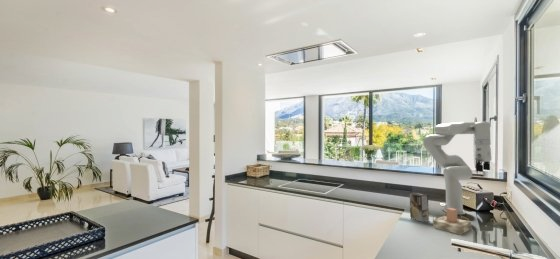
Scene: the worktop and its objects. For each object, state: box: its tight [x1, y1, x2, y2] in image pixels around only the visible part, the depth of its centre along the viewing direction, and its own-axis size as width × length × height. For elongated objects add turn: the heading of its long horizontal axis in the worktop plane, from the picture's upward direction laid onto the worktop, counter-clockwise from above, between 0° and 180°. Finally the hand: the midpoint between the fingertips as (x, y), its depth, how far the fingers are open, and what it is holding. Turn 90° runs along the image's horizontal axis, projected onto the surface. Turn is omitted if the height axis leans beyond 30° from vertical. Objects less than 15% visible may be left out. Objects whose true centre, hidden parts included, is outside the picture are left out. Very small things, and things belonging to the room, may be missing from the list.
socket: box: [432, 215, 472, 235], centre depth 147 cm, size 14×14×4 cm
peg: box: [445, 208, 458, 223], centre depth 147 cm, size 4×4×11 cm
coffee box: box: [409, 192, 430, 223], centre depth 162 cm, size 9×6×16 cm
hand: (483, 170), depth 153 cm, fingers open, 9 cm apart
